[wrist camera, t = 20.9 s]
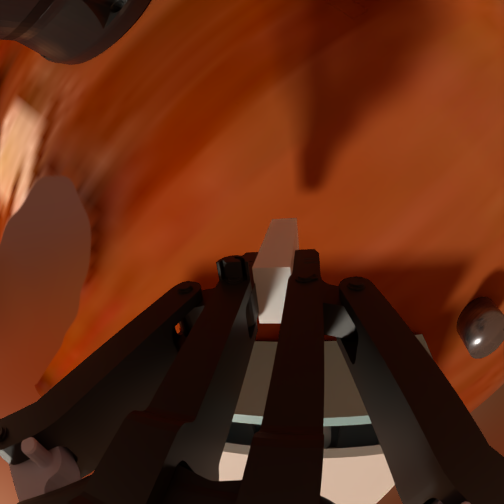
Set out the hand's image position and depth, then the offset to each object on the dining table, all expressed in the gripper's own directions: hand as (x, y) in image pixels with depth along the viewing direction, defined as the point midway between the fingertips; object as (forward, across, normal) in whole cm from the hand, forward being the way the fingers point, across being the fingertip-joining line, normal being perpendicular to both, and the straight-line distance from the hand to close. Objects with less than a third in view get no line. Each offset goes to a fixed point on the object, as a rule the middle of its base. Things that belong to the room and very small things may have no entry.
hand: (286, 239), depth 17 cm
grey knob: (+4, -19, +11) cm, 22 cm away
